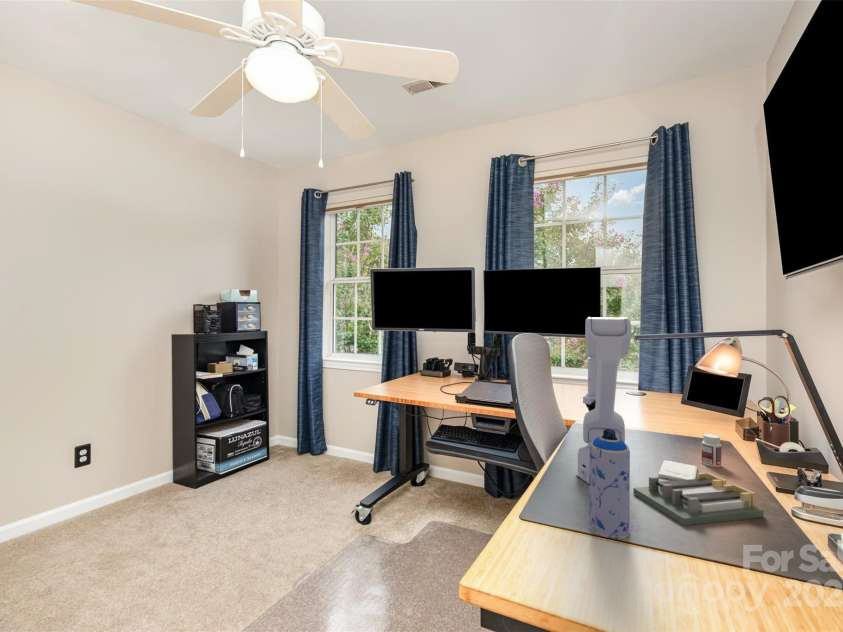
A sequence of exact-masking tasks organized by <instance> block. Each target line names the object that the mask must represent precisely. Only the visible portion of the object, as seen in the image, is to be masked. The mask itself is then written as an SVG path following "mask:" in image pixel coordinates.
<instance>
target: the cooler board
mask: <svg viewBox="0 0 843 632" xmlns="http://www.w3.org/2000/svg"><path fill="white" fill-rule="evenodd" d="M703 478H707V479H709V480H711V481H712V485H711V486H698V487H684V488H673V485H671V484H662V487H660V486H658V485H657V484H656V482H660V481H659V479H660V477H658V476H649V477H648V486H640V487H639V486H638V487H633V491H632V492H633V493H632V494H633V495H634V494H635V495H634V496H636V497H637V496H638V497H637V498H639V497H640V498H641V500H642V499H643V500H642V501H644V502H645V501H646V503H647V502H648V503H649V505H650V504H651V505H650V506H651V507H654V508H655V509H656V508H657V509H656V510H658V511H660V512H661V513H663V514H664V513H665V515H666V516H668V517H669V516H670V518H671V519H672V518H673V520H674V521H675V522H677V523H679V524H680V525H682V526H684V527H685V526H686V525H687V526H694V525H693V524H696V525H701V524H700V523H705V524H711V523H710V522H713V523H721V522H720V521H722V522H730V521H731V522H732V521H737V520H748V519H755V518H764V515H765V514H764V513H765V512H764V509H763V508H761V507H758V506H757V505H756V502H757V501H756V500H757V497H756V496H757V493H756V492H754V491H752V490H750V489H747V488H745V487H742V486H740V485H737V484H735V483H731V484H727V479H724V478H722V477H720V476H717V475H715V474H712V473H711V472H708V471H706V472H697V474H696V479H703ZM721 491H735V492H737V493H739V494H740V499H730V500H717V501H705V502H699V499H698V498H696V497H692V498H688V501H686V500H684V499H682V498H680V495H683V494H695V493H708V492H721ZM640 498H639V499H640ZM648 503H647V504H648Z"/></svg>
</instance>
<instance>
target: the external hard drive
mask: <svg viewBox="0 0 843 632" xmlns="http://www.w3.org/2000/svg"><path fill="white" fill-rule="evenodd" d="M661 464H662V465H661V467H660V469H659V472H658V474H657V475H658V476H657V477H658V478H660V477H663V478H662V479H665V478H668V479H667V480H670V479H673V480H672V481H675V480H689V479H697V473H698V466H697V465H693V464H687V463H684V462H683V463H682V462H677V461H670V460H663V461H662V463H661Z"/></svg>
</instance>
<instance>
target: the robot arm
mask: <svg viewBox="0 0 843 632" xmlns="http://www.w3.org/2000/svg"><path fill="white" fill-rule="evenodd" d="M584 326H585V327H584V328H585V332H584V333H585V335H584V336H585V345H586V346H585V348H586V350H585V352H586V357H587V393H586V394H585V396H584V395H583V396H582V404H585V407H586V408H587V410H588V411H587V412H585V414H584V415H583V421H582V439H583V440H582V441H583V442H584V443H585V444H587V445H585V446H582V447H579V449H578V452H577V472H576V473H575V475H576V476H577V477H578V478H580V479H581V480H582V481H584V482H585V483H587V484H588V485H589V462H590V444H591V442H592V441H594V439H595V438H597V437H600V436H601V435H603V431H604V430H606V429H610V430H613V431H615V433H616V437H618V438H619V439H620V440H622V441H624V443H625V442H626V434H625V433H626V428H625V427H626V426H625V419H624V418H623V416H622V415H621V414H619V413H618V412H616V411H615V405H616V404H615V403H616V392H617V380H618V369H619V365H620V362H621V359H623V358H625V357H627V356H628V355H629V351H630V349H631V347H630V346H631V339H632V338H631V337H632V324H631V320H630V319H629V317H626V316H625V317H591V316H588V317H587V318H586V319H585V325H584ZM625 444H626V443H625Z"/></svg>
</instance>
